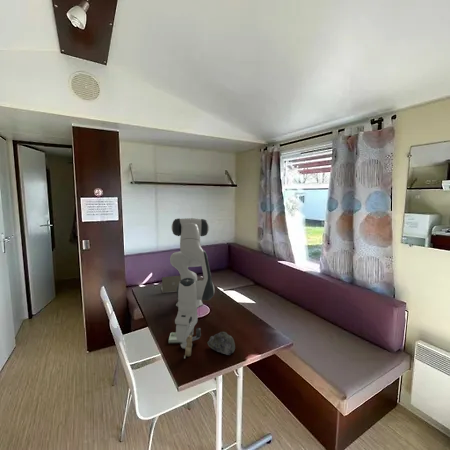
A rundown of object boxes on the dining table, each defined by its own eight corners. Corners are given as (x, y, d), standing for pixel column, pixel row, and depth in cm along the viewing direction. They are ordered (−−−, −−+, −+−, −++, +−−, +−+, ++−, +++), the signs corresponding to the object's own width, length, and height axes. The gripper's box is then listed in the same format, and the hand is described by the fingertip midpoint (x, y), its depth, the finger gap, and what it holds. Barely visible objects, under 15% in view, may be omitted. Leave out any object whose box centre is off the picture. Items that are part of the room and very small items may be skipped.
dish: (170, 336, 141) (170, 332, 141) (183, 335, 142) (183, 332, 141) (168, 343, 134) (168, 339, 134) (182, 342, 135) (182, 339, 135)
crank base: (181, 342, 135) (181, 340, 135) (192, 342, 136) (192, 340, 135) (178, 358, 122) (178, 356, 122) (191, 358, 122) (190, 356, 122)
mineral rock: (206, 346, 132) (206, 328, 131) (223, 340, 138) (224, 322, 136) (219, 360, 121) (219, 340, 120) (237, 352, 127) (238, 333, 126)
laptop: (182, 285, 221) (182, 271, 219) (184, 290, 209) (184, 275, 208) (161, 287, 215) (160, 272, 214) (162, 293, 204) (161, 277, 202)
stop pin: (185, 352, 126) (186, 335, 125) (191, 352, 126) (192, 335, 126) (184, 356, 123) (185, 338, 122) (190, 356, 123) (192, 338, 123)
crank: (184, 346, 129) (184, 335, 129) (180, 342, 133) (180, 332, 132) (202, 340, 135) (202, 330, 134) (198, 336, 139) (198, 326, 138)
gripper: (188, 303, 133) (189, 329, 134) (173, 322, 113) (173, 351, 114) (200, 304, 132) (200, 330, 133) (186, 323, 112) (187, 353, 113)
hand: (188, 340), depth 123 cm, fingers open, 8 cm apart
